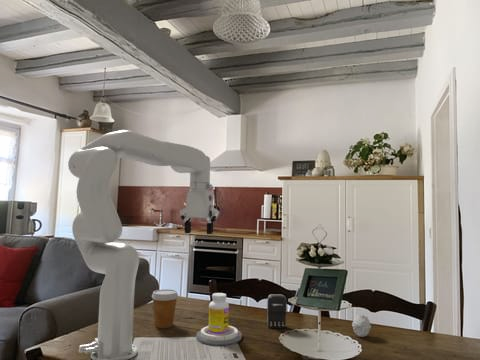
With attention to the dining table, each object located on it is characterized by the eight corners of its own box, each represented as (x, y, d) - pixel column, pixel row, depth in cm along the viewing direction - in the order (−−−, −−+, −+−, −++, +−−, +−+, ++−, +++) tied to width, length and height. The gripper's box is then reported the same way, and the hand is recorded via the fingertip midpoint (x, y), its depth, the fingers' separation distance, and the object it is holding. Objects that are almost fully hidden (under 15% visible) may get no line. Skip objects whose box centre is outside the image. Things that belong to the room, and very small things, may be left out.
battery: (267, 329, 126) (267, 296, 128) (266, 325, 130) (267, 293, 131) (287, 329, 126) (287, 296, 127) (285, 326, 130) (286, 294, 131)
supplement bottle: (225, 338, 113) (226, 297, 115) (205, 336, 115) (206, 295, 116) (230, 331, 120) (231, 292, 121) (211, 329, 121) (212, 291, 123)
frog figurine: (373, 335, 122) (372, 314, 122) (368, 341, 116) (367, 319, 117) (355, 331, 125) (354, 311, 126) (349, 337, 119) (349, 315, 120)
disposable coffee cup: (182, 326, 128) (183, 292, 129) (158, 331, 122) (159, 295, 123) (168, 320, 135) (169, 288, 137) (145, 324, 129) (147, 291, 130)
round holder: (210, 349, 107) (210, 341, 107) (188, 334, 119) (188, 327, 120) (250, 339, 115) (250, 332, 115) (226, 327, 128) (226, 321, 128)
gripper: (224, 188, 134) (223, 233, 132) (186, 189, 141) (185, 232, 140) (214, 186, 127) (213, 234, 125) (175, 187, 135) (173, 233, 133)
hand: (198, 233), depth 132 cm, fingers open, 9 cm apart
